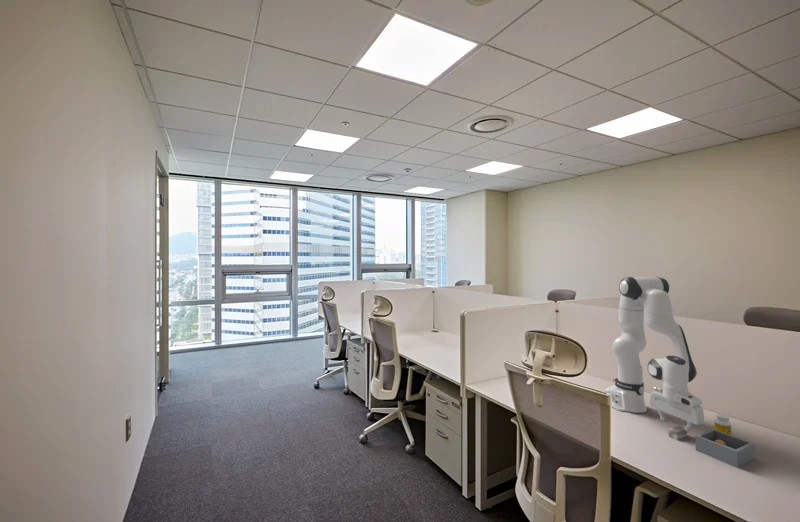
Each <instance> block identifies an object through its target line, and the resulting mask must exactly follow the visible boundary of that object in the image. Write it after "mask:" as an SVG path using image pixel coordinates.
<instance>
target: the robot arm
mask: <svg viewBox="0 0 800 522" xmlns="http://www.w3.org/2000/svg"><path fill="white" fill-rule="evenodd" d="M618 290H619V293H620V297H619V304H618V324H619V327H620V334H621V335H620V336H618V337H616V338H615V339H614V340H613V343H612V345H611V348H612V351H613V353H614V355H615V359H616V364H617V378H614V379H613V380H612V382H614V384H613V385H610V386H608V387H606V388H605V389H604V390H603V392H604V391H605V392H607V393H609V394H610V395H611V396H612V407H611V408H613V409H614V410H617V411H620V412H628V413H637V414H638V413H639V414H641V413H646V412H647V411H648V409H647V406H646V405H647V404H646V402H645V395H644V392H645V383H644V381H643V380H644V375H643V366H642V365H641V360H640V353H641V352H643V351H644V350H645V348H646V347H647V340H646V335H645V327H644V322H645V324H646V326H647V327H648V328H649V329H650V330H653V332H656V333H658V334H659V333H660V334H662V335H665V336H666V337H668V338H669V339H670V340H671V342H672V345H673V349H674V352H675V355H676V356H675V355H666V356H665V357H662V358H659V357H658V358H651V359H650V360H649V362H648V363H647V373H648V374H649V375H650V376H651V378H653V379H654V380H658V381H662V389H661V388H658V387H656V386H654V387H651V388H650V396H649V402H648V404H649V406H650V407H651V408H654V409H656V410H657V413H658V415H659V419H660V421H663V422H666V421H667V416H666V415H665V414H664V413H666V414H669V415H671V416H674V417H676V418H678V419H680V420H684V421H685V422H686V424H685V425H683V427H684V428H683V429H684V430H686V431H687V432H689V431H690V430H691V427H692V426H693V425H696V426H699V425H702V424H704V421H705V415H704V414H705V413H704V409H703V406H701V405H702V404H703V400H701V399H700V398H698V396H695V395H694V394H692V393H691V392H690V391H689V388H688V387H689V386H688V383H690V382H692V381H693V380H694V379H695V378H696V376H697V375H698V373H697V368H696V366H695V364H694V361H693V360H692V355H691V352H690V350H689V349H690V348H689V345H688V342H687V338H686V334H685V331H684V328H682V326H681V325H680V324H678V323H677V321H676V320H675V318H674V313H673V312H674V311H673V306H672V302H671V299H670V295H669V292H670V284H669V282H668V281H667V280H666V279H665V278H664V277H663V278H662V277H661V276H660V277H659V276H645V275H644V276H643V275H642V276H634V277H633V276H628V277H623V278H622V279H621V280H620V281H619V284H618Z"/></svg>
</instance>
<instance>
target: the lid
mask: <svg viewBox="0 0 800 522" xmlns="http://www.w3.org/2000/svg"><path fill="white" fill-rule="evenodd" d="M683 428H684V425H683V426H682V425H676V426H674V427H671V428H668V437H669V438H671V439H673V440H675V441H676V440H677V441H678V440H680V439H683V438H685V437H688V431H686V430H684V429H683Z"/></svg>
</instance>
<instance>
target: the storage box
mask: <svg viewBox="0 0 800 522" xmlns="http://www.w3.org/2000/svg"><path fill="white" fill-rule="evenodd" d="M715 440H722V441H724V442H725V443H726V445H727V446H728V447H726V446H724V445H721V444H719V443H716V442H714V441H715ZM729 447H731V448H733V449H731V448H729ZM734 449H735V450H734ZM695 451H696V452H698V453H701V454H703V455H706V456H708V457H711V458H713V459H715V460H718V461H720V462H722V463H725V464H727V465H730V466H731V467H733V468H736V469H738V468H740V467H742V466H744V465H745V464H748V463H749V462H752V461H754V460H755V455H756V454H755V443H754V442H752V441H748V440H745V439H743V438H739V437H737V436H734V435H732V434H731V435H729V434H726V433H723V432H721V431H718V430H715V428H712V429H709V430H707V431H704V432H702V433H699V434H696V435H695Z"/></svg>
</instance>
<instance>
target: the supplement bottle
mask: <svg viewBox="0 0 800 522" xmlns="http://www.w3.org/2000/svg"><path fill="white" fill-rule="evenodd" d="M714 429H715V430H718V431H721V432H723V433H726V434H729V435H732V424H731V422H730V417H729V416H728V415H725V414H720V413H719V414H716V418H715V419H714Z"/></svg>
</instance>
